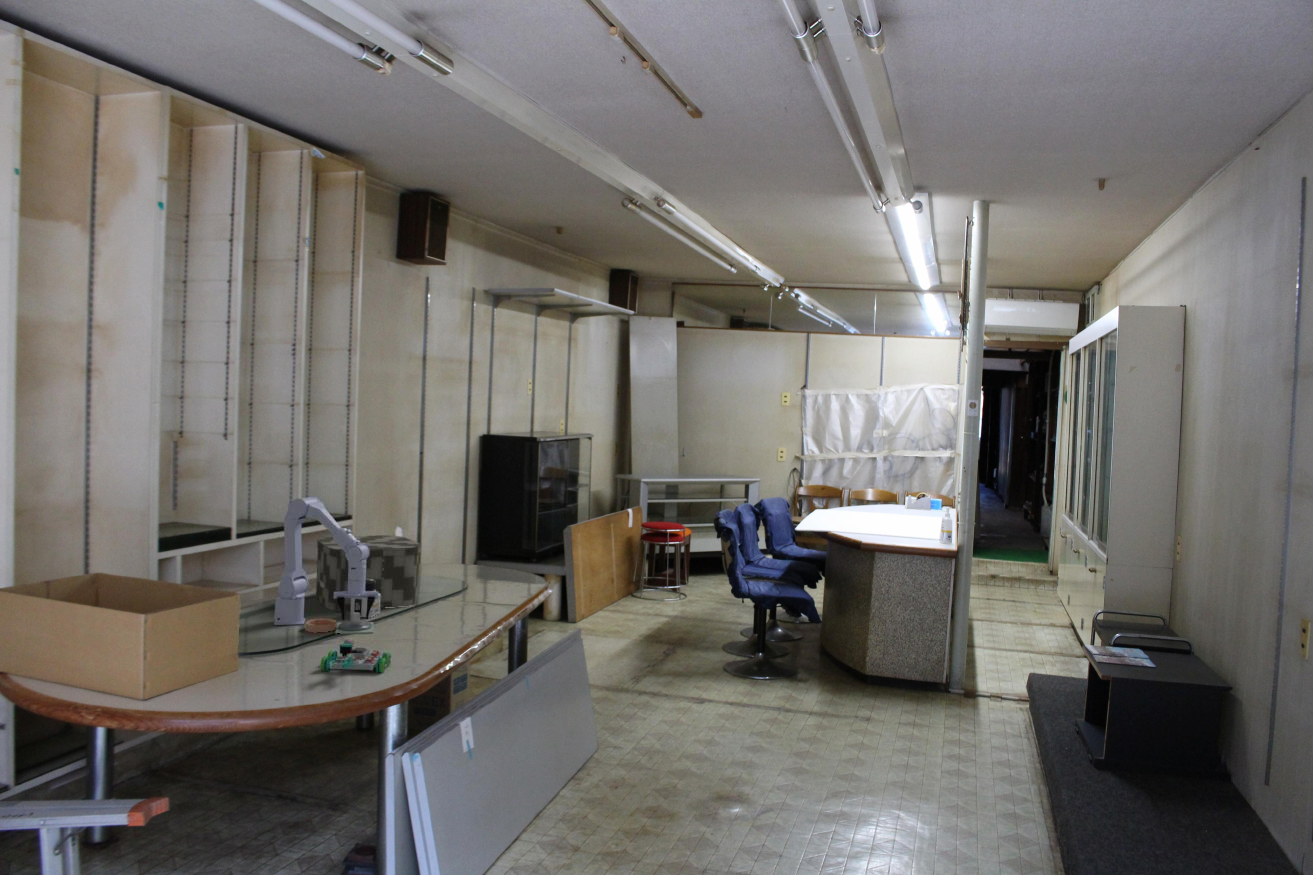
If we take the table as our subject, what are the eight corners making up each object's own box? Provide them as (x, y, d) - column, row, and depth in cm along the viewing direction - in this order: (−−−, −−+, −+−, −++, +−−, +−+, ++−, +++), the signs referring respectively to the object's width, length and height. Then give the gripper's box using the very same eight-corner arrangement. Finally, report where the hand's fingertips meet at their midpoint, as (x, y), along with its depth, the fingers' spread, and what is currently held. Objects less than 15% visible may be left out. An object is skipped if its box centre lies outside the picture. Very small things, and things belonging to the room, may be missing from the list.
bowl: (304, 633, 300) (304, 625, 300) (307, 626, 309) (307, 619, 309) (334, 632, 302) (335, 625, 302) (336, 625, 311) (336, 618, 311)
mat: (335, 634, 300) (335, 632, 300) (337, 624, 314) (337, 622, 314) (372, 633, 304) (372, 631, 304) (373, 623, 317) (373, 622, 317)
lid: (337, 631, 302) (337, 617, 302) (338, 623, 312) (339, 610, 312) (371, 630, 305) (372, 616, 305) (371, 623, 315) (372, 609, 315)
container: (369, 618, 324) (370, 582, 324) (350, 616, 326) (351, 581, 325) (380, 614, 332) (381, 579, 331) (361, 612, 333) (362, 577, 333)
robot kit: (304, 685, 246) (306, 651, 246) (332, 660, 271) (333, 629, 271) (373, 687, 247) (375, 653, 247) (394, 662, 272) (395, 631, 272)
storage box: (425, 606, 349) (427, 547, 348) (332, 613, 329) (335, 551, 329) (396, 589, 378) (398, 534, 377) (309, 595, 358) (311, 537, 358)
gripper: (333, 581, 302) (332, 621, 303) (378, 581, 307) (377, 621, 307) (334, 577, 309) (333, 617, 309) (378, 577, 313) (377, 616, 314)
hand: (355, 618), depth 309 cm, fingers open, 7 cm apart
